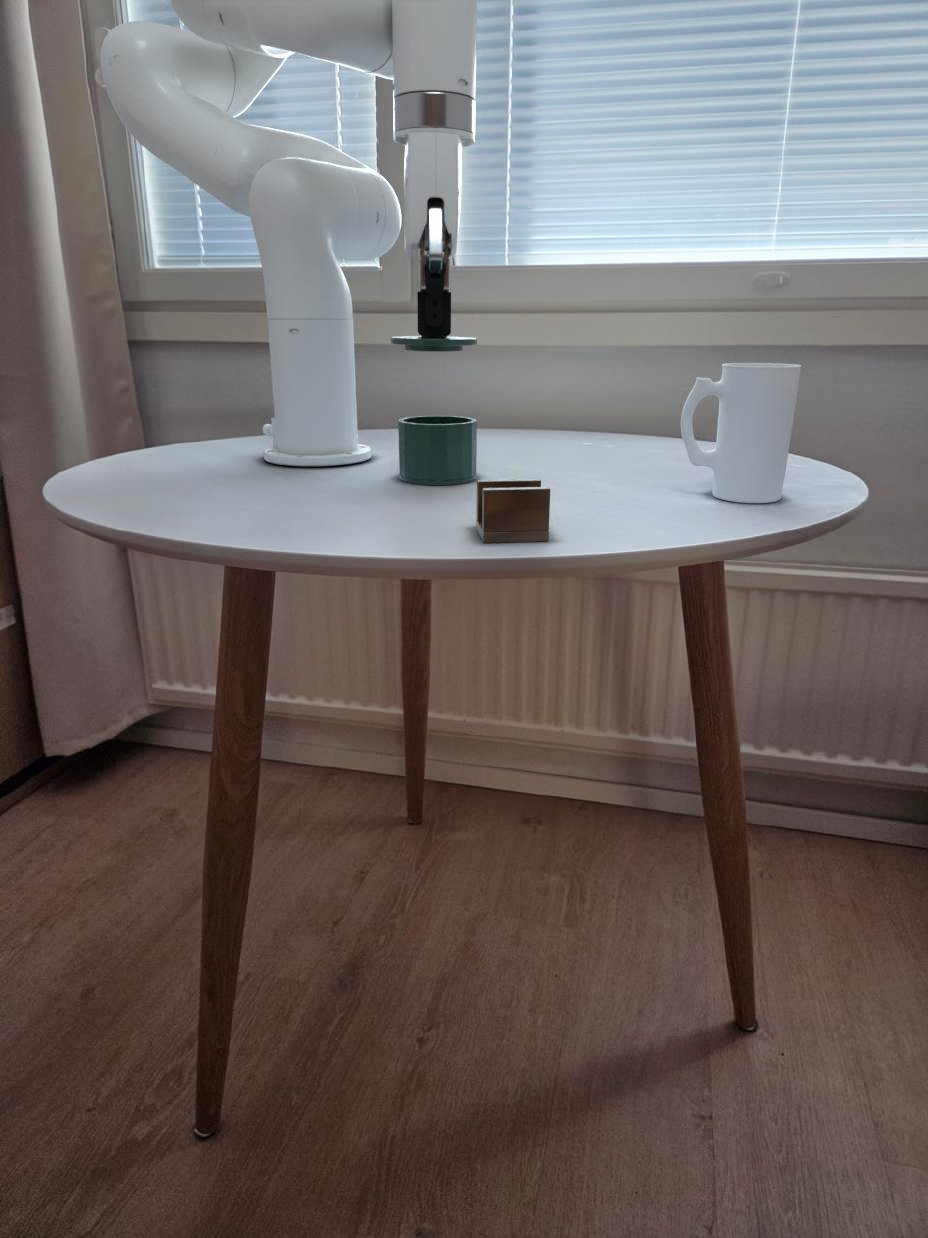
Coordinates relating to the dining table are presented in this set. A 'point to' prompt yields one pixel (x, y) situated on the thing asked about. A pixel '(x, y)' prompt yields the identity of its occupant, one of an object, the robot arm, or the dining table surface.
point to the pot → (437, 450)
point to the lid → (433, 343)
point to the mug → (746, 429)
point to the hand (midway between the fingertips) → (433, 333)
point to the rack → (512, 510)
